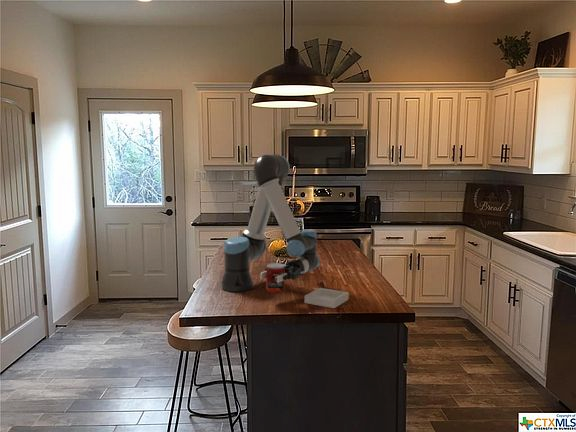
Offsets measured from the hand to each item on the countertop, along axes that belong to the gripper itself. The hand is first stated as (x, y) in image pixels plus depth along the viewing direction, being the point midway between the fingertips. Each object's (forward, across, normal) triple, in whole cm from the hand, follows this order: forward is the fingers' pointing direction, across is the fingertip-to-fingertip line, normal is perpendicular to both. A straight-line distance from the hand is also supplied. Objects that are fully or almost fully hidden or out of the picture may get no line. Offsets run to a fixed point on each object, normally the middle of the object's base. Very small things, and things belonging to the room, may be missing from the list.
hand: (269, 277), depth 193 cm
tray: (-18, -18, -11) cm, 28 cm away
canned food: (-5, 0, -7) cm, 8 cm away
